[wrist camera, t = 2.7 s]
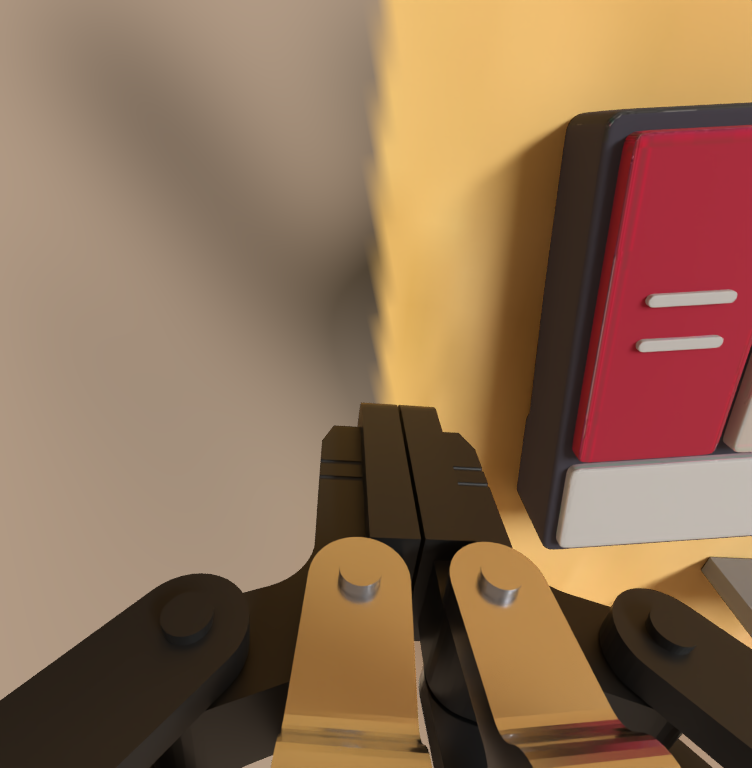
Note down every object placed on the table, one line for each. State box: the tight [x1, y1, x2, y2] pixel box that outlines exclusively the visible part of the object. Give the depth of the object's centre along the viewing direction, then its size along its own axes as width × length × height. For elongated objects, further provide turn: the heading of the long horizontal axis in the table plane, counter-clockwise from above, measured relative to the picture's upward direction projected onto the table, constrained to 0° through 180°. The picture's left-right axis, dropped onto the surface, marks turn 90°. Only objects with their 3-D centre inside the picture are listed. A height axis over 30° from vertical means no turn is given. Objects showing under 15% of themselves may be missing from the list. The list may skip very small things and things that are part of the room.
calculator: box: [517, 103, 752, 549], centre depth 17 cm, size 11×4×15 cm
